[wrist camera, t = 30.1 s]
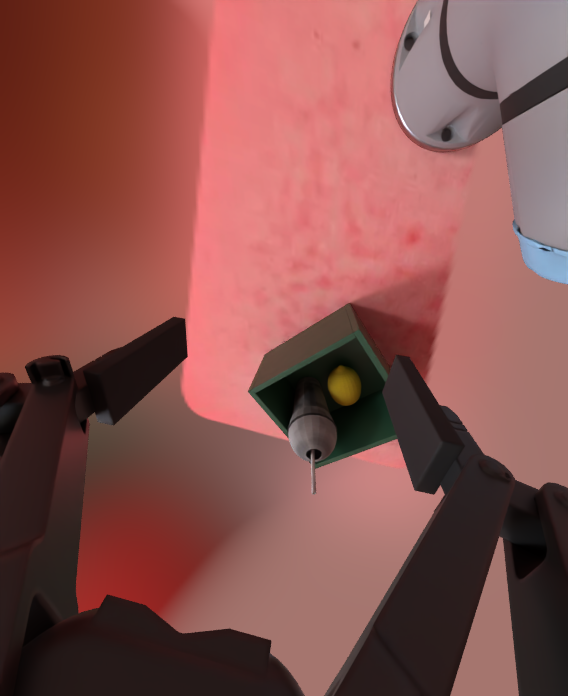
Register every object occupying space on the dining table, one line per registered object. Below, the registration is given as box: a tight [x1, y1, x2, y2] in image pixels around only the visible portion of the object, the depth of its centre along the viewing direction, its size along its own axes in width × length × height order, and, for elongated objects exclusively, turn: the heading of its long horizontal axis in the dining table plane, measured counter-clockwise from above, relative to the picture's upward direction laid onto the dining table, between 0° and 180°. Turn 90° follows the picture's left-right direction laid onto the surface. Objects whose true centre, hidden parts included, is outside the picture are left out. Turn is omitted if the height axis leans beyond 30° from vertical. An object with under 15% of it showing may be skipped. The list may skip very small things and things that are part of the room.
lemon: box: [328, 365, 361, 406], centre depth 42 cm, size 6×6×8 cm
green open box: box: [248, 303, 397, 469], centre depth 40 cm, size 18×18×12 cm
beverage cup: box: [287, 377, 337, 494], centre depth 38 cm, size 7×7×20 cm
